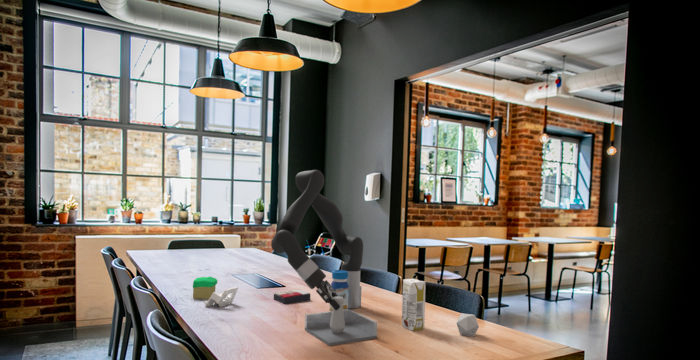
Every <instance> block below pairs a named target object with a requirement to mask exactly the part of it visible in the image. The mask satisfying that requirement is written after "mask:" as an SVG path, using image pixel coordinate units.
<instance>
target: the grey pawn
mask: <svg viewBox="0 0 700 360" xmlns="http://www.w3.org/2000/svg"><path fill="white" fill-rule="evenodd" d="M334 300H335V301H336V302H337V303H338V304H339V305H340V308H339V309H338V310H335V309H334V308H333V311H332V316H331V321H330V328H331V330H332V332H333V333H336V334H340V333H342V332H343V330H344V328H345V321H344V314H343V307H342V304H343V303H344V298H343V297H340V296H336V297H334Z"/></svg>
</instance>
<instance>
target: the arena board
mask: <svg viewBox="0 0 700 360" xmlns="http://www.w3.org/2000/svg"><path fill="white" fill-rule="evenodd" d="M304 331H306V332H307V333H309V334H310V335H311V336H313V337H315V338H316V339H318V340H319V341H321V342H322V343H324V344H326V345H327V346H329V347H330V346H337V345H342V344H343V345H344V344H350V343H355V342H360V341H367V340H375V339H378V335H377V336H372V335H371V334H369V333H367V332H365V331H363V330H361V329H359V328H357V327H355V326H353V325H351V324H349V323H345V328H344V330H343V332H342V333H340V334H336V333H333V332H332V330H331V328H330V325H328V326H320V327H313V328H305V327H304Z"/></svg>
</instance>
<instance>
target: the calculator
mask: <svg viewBox="0 0 700 360" xmlns="http://www.w3.org/2000/svg"><path fill="white" fill-rule="evenodd" d="M273 300H274V301H276V302H279V303H281V304H283V305H286V304H294V303H299V302H300V303H301V302H309V301H311V293H309V292H307V291H305V290H302V289H293V290H284V291H279V292H275V293H273Z"/></svg>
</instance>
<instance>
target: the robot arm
mask: <svg viewBox="0 0 700 360" xmlns="http://www.w3.org/2000/svg"><path fill="white" fill-rule="evenodd" d="M324 185H325V177H324V173H322V171H321V170H318V169H312V170H304V171H300V172H298V173H297V174H296V175H295V186H296V187H297V189H298V191H299V192H300V193H301V195H300V196H299V197H298V198H297V199H296V200H295V201H294V202H293V203H292V204H291V205H290V206H289V207H288V208H287V211H286V212H285V214H284V216H283V219H282V221H281V224H280V225H279V228H278V229H277V230H276V232H275V234H274V235H273V238H271V239H272V240H271V249H272V250H273V252H274V253H277V254H283V253H285V254H286V256H287V262H288V264H289V265H290V266H291V267H292V269H293V270H294V271H295V272H296V274H298V276H299V277H300V278H301V280H303V282H304V283H305V284H306V285H307V287H308V288H309V289H311V290H313V289H315V288H316V290H315V292H316V294H318V295H319V297H320V298H321V299H322V300H323V301H324V302H325V303H326V304H328V305H329V306H330V305H331V306H332V307H333V308H334V309H335V310H338V309H339V308H340V305H339V304H338V303H337V302H336V301H335V300H334V297H336V296H338V295H337V293H336V290H335V289H334V288H333V287H332V286H331V283H330V282H329V281H328V280H324V279H326V274H325V272H324V271H323V270H322V269H321V268H320V267H319V266H318V265H317V263H315V261H313V260H312V259H311V258H310V257H309V255H308V254H307V253H306V252H305V251H303V249H302V247H301V245H300V243H299V241H298V240H297V238H296V236H295V233H296V232H297V231H298V229H299V228H300V226H301V223H302V221H303V219H304V216H305V215H306V213H307V211H308V210H309V208H310V207H312V208H313V209H314V211H315V212H316V214H317V215H318V217H319V219H320V220H321V222H322V223H323V225H324V226H325V228H326V230H327V231H328V232H329V234H330V236H331V237H332V239H333V242H334V243H335V245H336V248H337V249H338V251H339V252H340V254H342V255H344V256H349V259H348V261H346V262H342V263H341V268H340V270H345V271H348V279H347V280H346V281H347V282H348V285H349V289H348V291H349V298H348V309H351V310H352V309H358V308H361V307H362V288H363V287H362V286H361V267H362V264H363V256H364V255H363V253H364V241H363V239H362V238H361V237H360V236H355V235H354V236H352V235H348V234H347V233H346V232H345V231H344V229H343V223H344V222H343V215H342V212H341V211H340V209H339V208H338V206H337V204H336V203H334V202H333V201H332V200H330V199H329V198H327V197H326V196H324V195H322V194H321V193H320V192H321V191H322V189H323V187H324Z"/></svg>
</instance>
